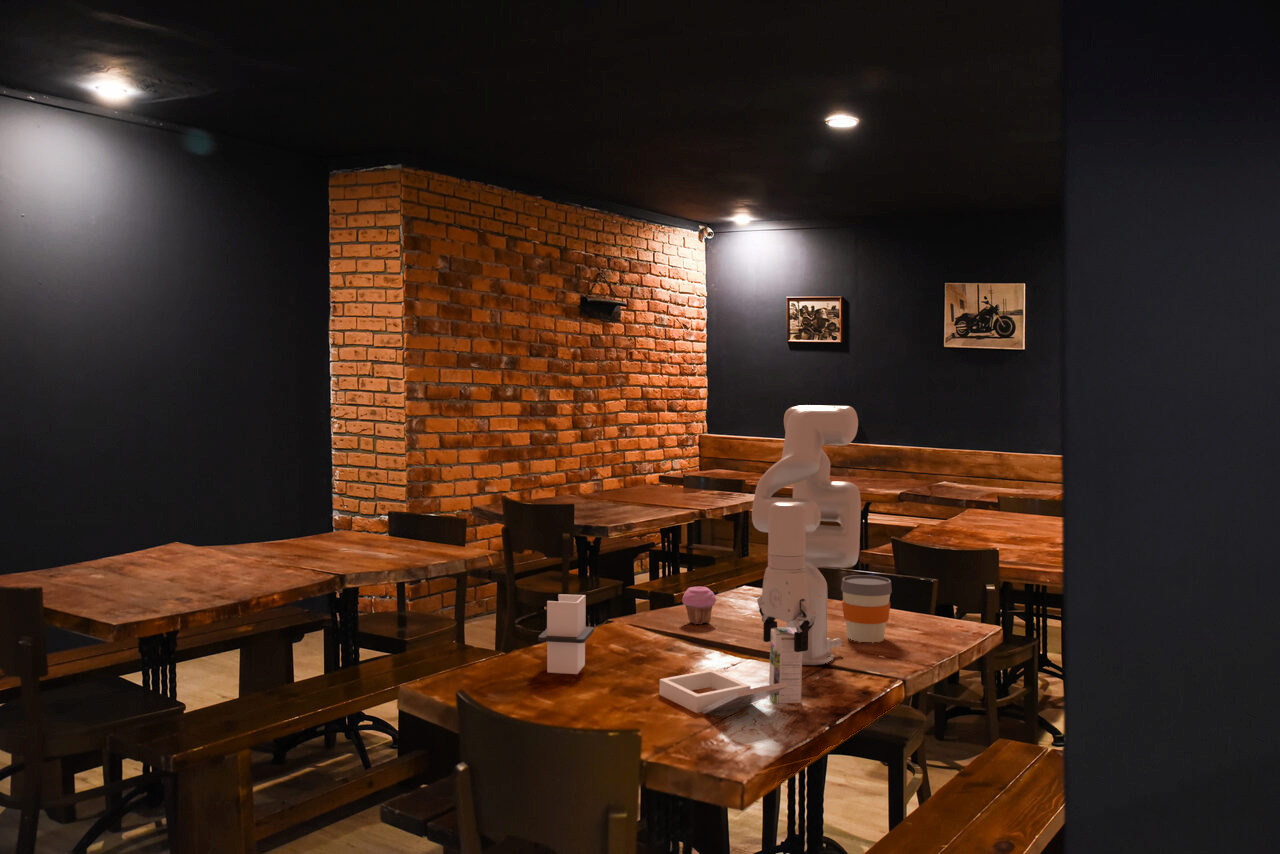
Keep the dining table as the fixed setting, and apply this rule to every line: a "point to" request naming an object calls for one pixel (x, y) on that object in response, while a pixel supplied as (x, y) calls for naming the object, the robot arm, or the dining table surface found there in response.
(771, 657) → the syrup box
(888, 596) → the reusable coffee cup
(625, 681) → the dining table surface
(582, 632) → the white flanged box
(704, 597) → the cupcake
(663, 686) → the white piece
